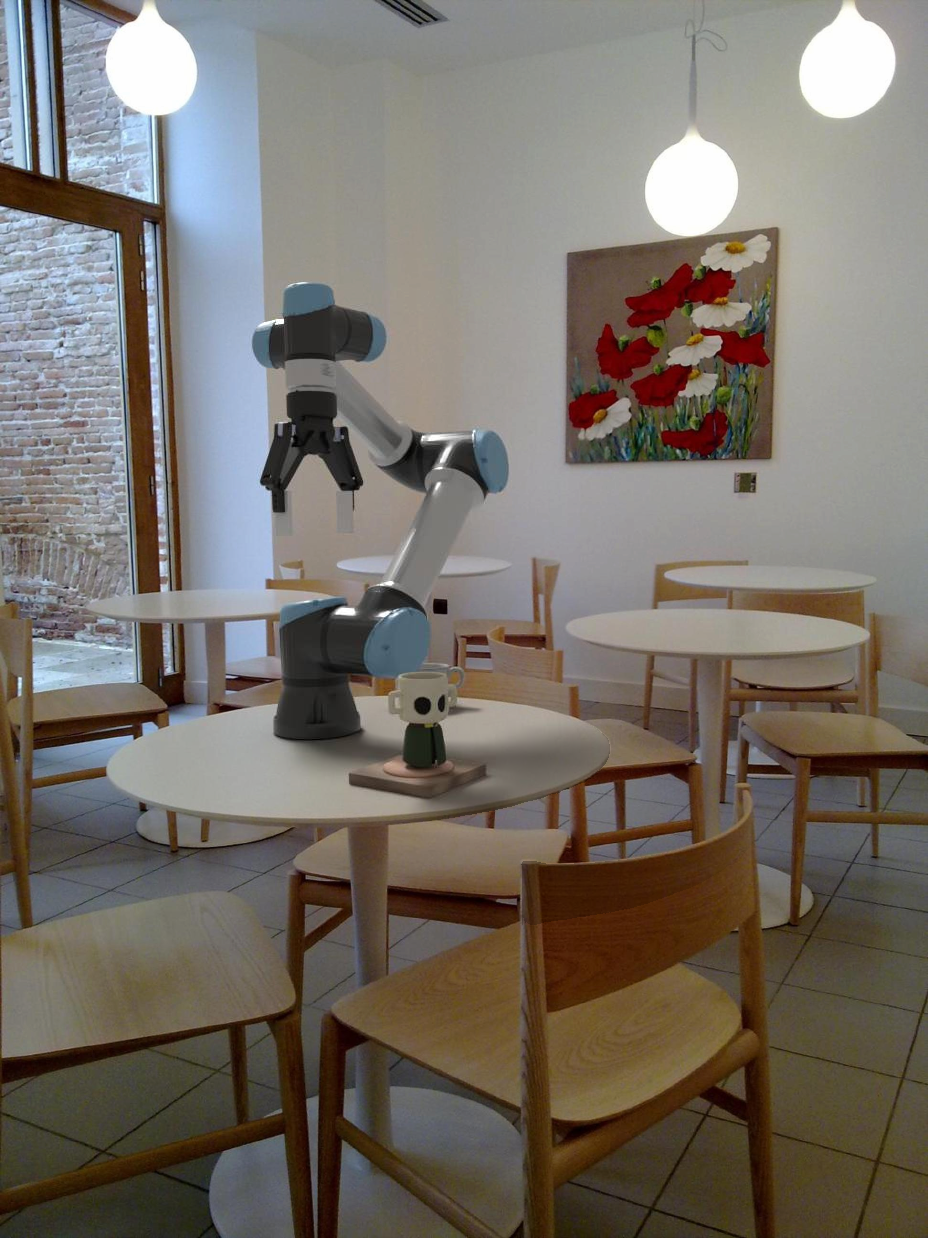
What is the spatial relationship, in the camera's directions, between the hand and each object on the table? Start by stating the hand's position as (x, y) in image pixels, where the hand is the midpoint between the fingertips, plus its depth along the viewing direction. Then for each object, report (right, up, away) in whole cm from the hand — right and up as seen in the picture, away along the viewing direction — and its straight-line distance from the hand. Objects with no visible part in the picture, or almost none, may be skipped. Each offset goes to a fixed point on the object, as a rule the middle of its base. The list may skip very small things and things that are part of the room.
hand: (315, 534), depth 152 cm
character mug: (+17, -34, -9) cm, 39 cm away
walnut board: (+16, -36, -9) cm, 40 cm away
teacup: (+16, -30, +44) cm, 56 cm away
